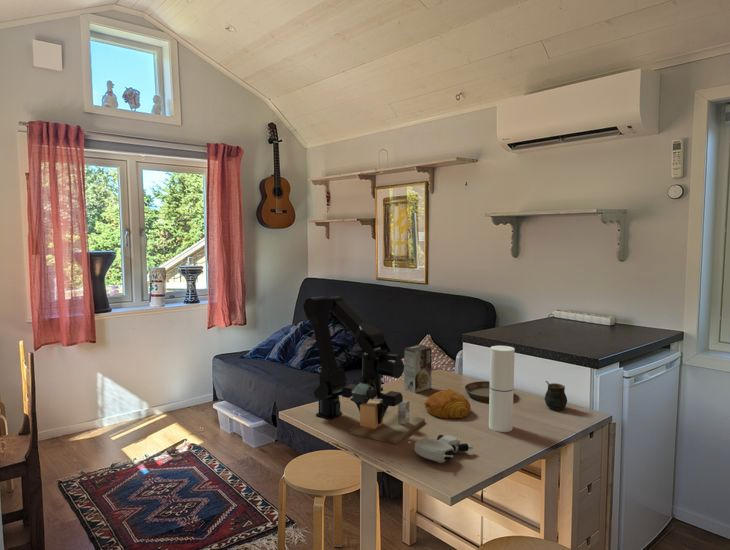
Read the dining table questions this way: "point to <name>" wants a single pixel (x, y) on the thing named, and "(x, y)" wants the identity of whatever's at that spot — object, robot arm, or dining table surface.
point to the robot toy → (439, 448)
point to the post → (403, 412)
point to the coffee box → (417, 368)
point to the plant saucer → (478, 390)
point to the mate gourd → (556, 396)
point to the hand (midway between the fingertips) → (371, 421)
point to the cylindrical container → (501, 388)
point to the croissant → (447, 404)
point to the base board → (388, 428)
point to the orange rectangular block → (369, 414)
